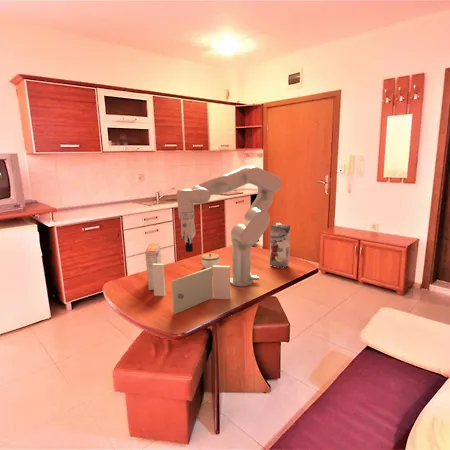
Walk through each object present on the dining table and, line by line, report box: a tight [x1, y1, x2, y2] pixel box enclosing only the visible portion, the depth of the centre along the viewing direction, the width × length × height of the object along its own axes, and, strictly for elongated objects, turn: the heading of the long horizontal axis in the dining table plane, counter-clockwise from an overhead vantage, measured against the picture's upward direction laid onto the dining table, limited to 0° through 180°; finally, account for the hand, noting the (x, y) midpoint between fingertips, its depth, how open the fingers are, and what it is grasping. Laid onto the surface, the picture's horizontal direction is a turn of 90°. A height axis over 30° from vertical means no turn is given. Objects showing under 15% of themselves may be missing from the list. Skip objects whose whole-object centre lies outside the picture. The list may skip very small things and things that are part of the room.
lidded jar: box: [201, 252, 220, 271], centre depth 190 cm, size 11×11×9 cm
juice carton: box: [269, 222, 291, 269], centre depth 190 cm, size 9×10×27 cm
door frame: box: [152, 263, 231, 300], centre depth 152 cm, size 37×2×16 cm, turn 83°
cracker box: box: [144, 242, 162, 291], centre depth 166 cm, size 14×6×21 cm, turn 5°
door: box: [171, 267, 214, 315], centre depth 142 cm, size 22×3×15 cm, turn 134°
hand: (189, 251), depth 156 cm, fingers closed
